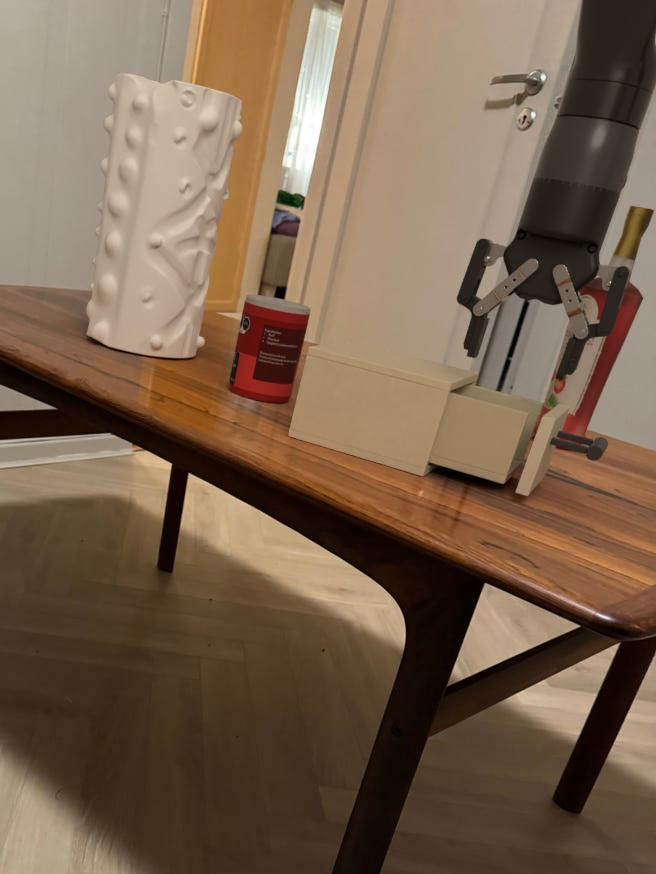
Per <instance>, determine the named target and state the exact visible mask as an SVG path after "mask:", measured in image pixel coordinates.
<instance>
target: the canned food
mask: <svg viewBox="0 0 656 874" xmlns="http://www.w3.org/2000/svg"><path fill="white" fill-rule="evenodd" d="M310 315H311V307H309V306H308V305H305V304H303V303H299V302H296V301H291V300H288V299H283V298H278V297H274V296H269V295H268V296H267V295H262V294H261V295H260V294H247V295H246V296H245V300H244V304H243V309H242V313H241V318H240V323H239V327H238V328H239V329H238V334H237V338H236V344H235V348H234V354H233V359H232V364H231V369H230V375H229V380H228V383H229V384H228V386H229V390H230V391H231V392H232V393H234V394H236V395H238V396H239V397H240V396H241V397H244V398H246V399H250V400H255V401H259V402H264V403H270V404H271V403H272V404H284V403H287V402H289V399H290V398H291V396H292V393H293V389H294V384H295V381H296V377H297V371H298V368H299V363H300V359H301V354H302V350H303V346H304V342H305V338H306V334H307V330H308V325H309V320H310Z"/></svg>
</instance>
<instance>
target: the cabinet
mask: <svg viewBox="0 0 656 874" xmlns="http://www.w3.org/2000/svg"><path fill="white" fill-rule="evenodd" d="M304 361H305V362H304V365H303V370H302V374H301V378H300V384H299V386H298V391H297V396H296V400H295V403H294V409H293V412H292V417H291V420H290V425H289V430H288V434H287V437H289V438H293V439H296V440H300V441H302V442H306V443H309V444H313V445H316V446H319V447H323V448H326V449H329V450H333V451H337V452H340V453H343V454H346V455H350V456H354V457H356V458H359V459H363V460H366V461H370V462H373V463H376V464H379V465H383V466H387V467H390V468H393V469H397V470H400V471H403V472H407V473H409V474H413V475H416V476H419V477H424V476H426V475H427V474H429V473H430V472H432V471H433V470H435V469H437V468H438V467H440V465H436V464H433V463H429V460H430V457H431V454H432V451H433V447H434V444H435V441H436V438H437V434H438V431H439V428H440V425H441V421H442V418H443V415H444V412H445V409H446V405H447V402H448V399H449V396H450V392H451V390H454V389H456V388H459V387H461V386H464V385H466V384H471V385H475V386H476V383H477V380H478V377H479V372H475V371H472V370H468V369H463V368H460V367H455V366H452V365H447V364H444V363H441V362H440V363H439V362H435V361H432V360H428V359H427V360H426V359H423V358H419V357H416V356H413V355H408V354H404V353H400V352H395V351H391V350H387V349H384V348H380V347H376V346H371V345H368V344H364V343H360V342H356V341H353V340H347V341H339V342H332V343H324V344H319V345H318V344H317V345H311V346H308V349H307V353H306V357H305V360H304Z"/></svg>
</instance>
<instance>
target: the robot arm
mask: <svg viewBox="0 0 656 874" xmlns="http://www.w3.org/2000/svg"><path fill="white" fill-rule="evenodd" d="M573 60H574V61H573V65H572V67H571V71H570V72H569V76H568V77H567V80H566V84H565V87H564V90H563V93H562V97H561V100H560V103H559V106H558V109H557V113H556V116H555V118H554V122H553V124H552V126H551V129H550V131H549V133H548V135H547V138H546V140H545V142H544V144H543V147H542V150H541V153H540V156H539V160H538V163H537V166H536V169H535V172H534V176H533V178H532V180H531V181H532V182H531V184H530V185H531V186H530V187H529V191H528V195H527V197H526V201H525V204H524V206H523V210H522V213H521V216H520V219H519V223H518V226H517V229H516V232H515V235H514V237H513V239H512V240H511V242H510V243H509V244H508V245H503V244H500V243H496V242H494V241H493V240H491V239H487V238H485V237H484V238H479V239H478V240H477V241H476V243H475V246H474V248H473V251H472V254H471V256H470V259H469V262H468V265H467V268H466V270H465V273H464V277H463V279H462V282H461V285H460V287H459V290H458V293H457V296H456V302H457V303H458V304H459V305H461V306H463V307H464V308H465V309H467V310H468V311H469V312H470V315H471V317H470V321H469V323H468V326H467V330H466V333H465V337H464V340H463V350H466V351H467V353H466V357H468V358H472V359H477V358H478V356H479V353H480V351H481V348H482V344H483V341H484V339H485V338H484V337H485V335H486V332H487V328H488V325H489V322H490V317H488V316H489V314H490V313H491V312H493V311H494V310H495V309H496V308H498V307H499V306H500V305H501V304H503V303H504V302H505V301H507V300H508V299H510V298H511V297H512V296H513V295H516V296H517V297H518V298H519V299H522V300H527V301H533V300H537V301H539V302H541V303H542V304H544V305H545V304H546V305H550V306H557V305H561V304H562V305H563V307H564V311H565V313H566V316H567V318H568V321H569V320H570V323H571V326H572V329H573V332H574V334H573V337H572V338H569V341H568V343H567V346H566V349H565V352H564V355H563V357H562V360H561V363H560V366H559V369H558V371H557V374H556V378H555V379H560V380H564V379H565V377H566V375H572V374H573V373H574V371H575V370H576V369H577V366H578V363H579V361H580V358H581V355H582V353H583V350H584V347H585V344H586V342H587V341H588V340H589V339H590V338H595V337H605V336H608V335H610V334H611V333H612V332H613V330H614V327H615V323H616V320H617V317H618V314H619V310H620V307H621V304H622V301H623V298H624V294H625V291H626V288H627V285H628V282H630V281H629V278H630V279H631V277H630V275H631V276H632V274H631V270H630V269H629V268H628V267H627V266H620V267H614V266H608V264H607V265H606V264H601V262H600V253H601V250H602V247H603V244H604V242H605V239H606V235H607V233H608V230H609V227H610V225H611V221H612V219H613V216H614V213H615V210H616V208H617V206H618V202H619V199H620V197H621V193H622V191H623V189H624V188H625V186H626V183H627V181H628V174H629V172H630V169H631V166H632V163H633V159H634V155H635V150H636V146H637V142H638V137H639V134H640V130H641V128H642V125H643V123H644V120H645V117H646V114H647V113H648V109H649V106H650V104H651V101H652V97H653V95H654V91H655V88H656V0H581V4H580V11H579V18H578V24H577V30H576V43H575V54H574V59H573ZM500 258H503V263H504V266H505V269H506V272H507V275H508V276H507V277H506V278H505V279H504V280H502V281H500V283H498V284H497V285H496V286H495V287H494V288H493V289H492V290H491V291H490V292H489V293H488V294H486V295H484V297H483V298H480V297H478V296H477V294H478V291H479V289H480V286H481V283H482V280H483V277H484V275H485V273H486V269H487V267H492V266H494V265H495V264H496V262H497V261H498V259H500ZM597 276H598V277H601V279H602V288H603V289H604V290H605V291H609V292H608V295H607V298H606V302H605V305H604V308H603V311H602V315H601V318H600V321H599V323H595V324H589V321H588V318H587V315H586V312H585V308H584V305H583V302H582V299H581V296H580V293H579V290H581V289H582V288H583V287H584V286H586V285H587V284H588V283H589V282H591V281H592V280H593V279H594V278H597Z"/></svg>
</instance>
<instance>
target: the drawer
mask: <svg viewBox="0 0 656 874" xmlns="http://www.w3.org/2000/svg"><path fill="white" fill-rule="evenodd" d="M543 404H544V402H541V401H537V400H533V399H530V398H526V397H522V396H518V395H514V394H510V393H507V392H503V391H498V390H495V389H490V388H487V387H482V386H479V385H476V384H475V385H471V384H466V385H464V386H461V387H459V388H456V389H454V390H451V392H450V396H449V399H448V402H447V405H446V409H445V412H444V415H443V418H442V421H441V425H440V428H439V431H438V434H437V438H436V441H435V444H434V447H433V451H432V454H431V457H430V460H429V463H433V464H436V465H439V467H443V468H447V469H449V470H450V469H451V470H453V471H457V472H460V473H463V474H468V475H470V476H474V477H478V478H481V479H484V480H488V481H491V482H494V483H498V484H502V485H504V484H505V483H506V482H508V481H509V480H510V479H511V478H512V477H513V476H514V475H515V474H516V473H517V472H518V471H519V470H520V469H521V468H522V465H523V463H524V460H525V457H526V454H527V451H528V449H529V446H530V443H531V440H532V438H533V435H534V429H535V426H536V424H537V422H538V419H539V416H540V413H541V410H542V407H543ZM569 410H570V406H566V405H562V404H558V405H557V406H555V407H554V408H553V409H551V410H550V411H549V412H548V413H546V414H545V415H544V416H543V417H542V419H541V422H540V424H539V427H538V430H537V433H536V435H535V436H534V439H533V441H532V444H531V447H530V450H529V453H528V455H527V458H526V461H525V464H524V467H523V469H522V472H521V475H520V478H519V481H518V484H517V486H516V489H515V491H514V493H515V494H518V495H522V496H525V497H529V496H530V495H531V493H532V492H533V491H534V490H535V488H537V486H538V485H539V484H540V482H542V480H543V479H544V478H545V476H546V475H547V472H548V470H549V467H550V465H551V461H552V459H553V456H554V453H555V451H556V449H557V448H556V446H558V447H562V448H566V449H565V450H568V449H569V450H568V451H573V452H576V453H581V454H585V456H586V458H587V459H588V460H589V461H592V462H595V461H599V460H600V459H601V458H602V457H603V455H604V453H605V451H606V450H607V449H608V446H609V441H608V439H607V438H606V437H603V436H598V437H596V438H595V439H592V438H590V437H589V438H588V437H586V436H585V437H586V438H585V437H582V436H578V435H574V434H570V433H567V432H563V431H562V429H563V426H564V423H565V421H566V418H567V415H568V412H569ZM526 423H527V424H526ZM525 425H526V427H525ZM524 428H525V429H524ZM523 431H524V432H523ZM559 438H562V439H565V440H569V441H573V442H577V443H580V444H581V445H579V444H576V443H572V442H568V441H565V440H561V439H559Z"/></svg>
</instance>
